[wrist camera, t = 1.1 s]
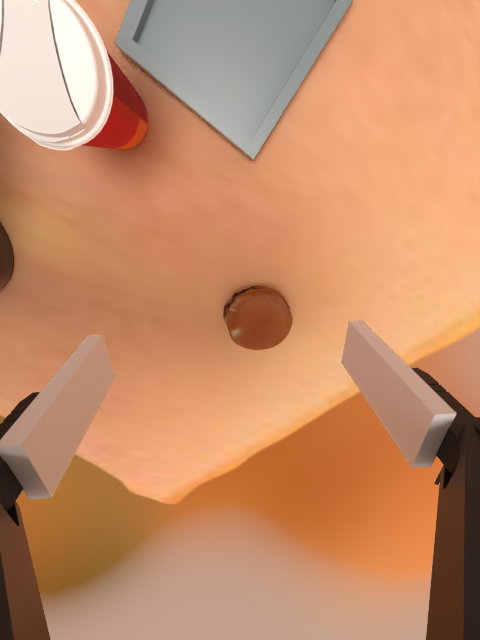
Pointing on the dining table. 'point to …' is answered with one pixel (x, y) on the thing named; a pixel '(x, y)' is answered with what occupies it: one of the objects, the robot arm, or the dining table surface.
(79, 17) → the coffee cup
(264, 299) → the burger
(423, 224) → the dining table surface
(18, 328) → the dining table surface
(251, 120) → the tray
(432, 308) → the dining table surface
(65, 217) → the dining table surface
